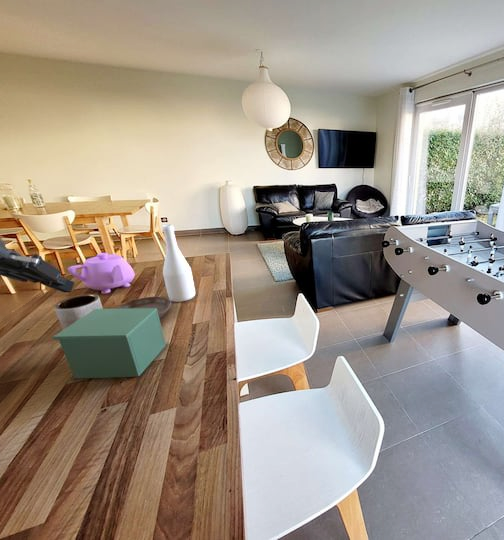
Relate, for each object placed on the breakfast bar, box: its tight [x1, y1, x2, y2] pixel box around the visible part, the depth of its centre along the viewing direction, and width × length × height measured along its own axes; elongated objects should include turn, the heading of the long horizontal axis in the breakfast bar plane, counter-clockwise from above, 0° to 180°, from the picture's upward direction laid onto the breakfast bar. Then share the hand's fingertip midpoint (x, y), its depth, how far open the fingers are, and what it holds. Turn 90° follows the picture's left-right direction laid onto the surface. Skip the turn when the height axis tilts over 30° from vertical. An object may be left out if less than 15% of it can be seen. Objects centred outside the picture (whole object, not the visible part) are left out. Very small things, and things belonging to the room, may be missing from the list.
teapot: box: [67, 252, 135, 294], centre depth 119 cm, size 20×20×15 cm
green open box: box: [58, 311, 167, 379], centre depth 79 cm, size 16×14×12 cm
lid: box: [52, 308, 157, 340], centre depth 77 cm, size 17×14×1 cm
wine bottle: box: [161, 224, 196, 303], centre depth 112 cm, size 10×10×30 cm
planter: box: [53, 293, 104, 330], centre depth 94 cm, size 11×11×10 cm
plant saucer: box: [115, 296, 172, 319], centre depth 103 cm, size 18×18×3 cm
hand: (69, 287), depth 72 cm, fingers closed
